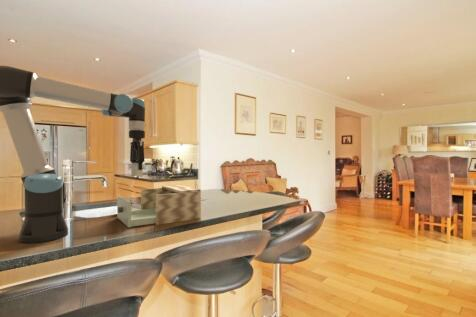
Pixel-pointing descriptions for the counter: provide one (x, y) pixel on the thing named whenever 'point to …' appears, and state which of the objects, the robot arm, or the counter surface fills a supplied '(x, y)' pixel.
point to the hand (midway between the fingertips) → (136, 176)
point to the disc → (135, 166)
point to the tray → (134, 214)
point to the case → (172, 203)
